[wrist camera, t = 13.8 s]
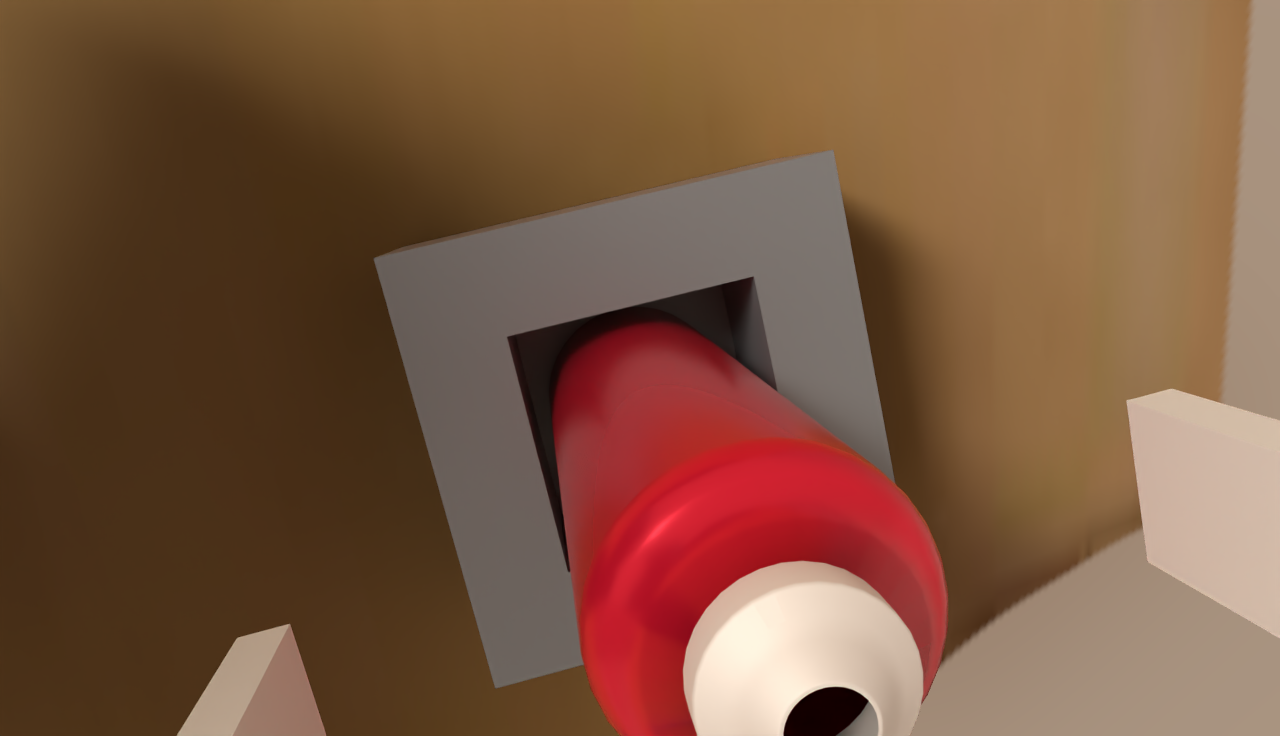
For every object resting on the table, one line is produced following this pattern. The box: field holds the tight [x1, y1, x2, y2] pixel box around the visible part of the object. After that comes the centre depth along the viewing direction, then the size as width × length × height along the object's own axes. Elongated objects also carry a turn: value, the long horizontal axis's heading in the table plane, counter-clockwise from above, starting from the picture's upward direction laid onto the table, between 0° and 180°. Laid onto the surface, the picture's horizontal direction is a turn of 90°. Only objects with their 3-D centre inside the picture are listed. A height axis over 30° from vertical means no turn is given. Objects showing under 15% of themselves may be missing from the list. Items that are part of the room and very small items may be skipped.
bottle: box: [549, 306, 948, 736], centre depth 21 cm, size 6×5×20 cm
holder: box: [374, 150, 895, 689], centre depth 29 cm, size 12×12×6 cm
